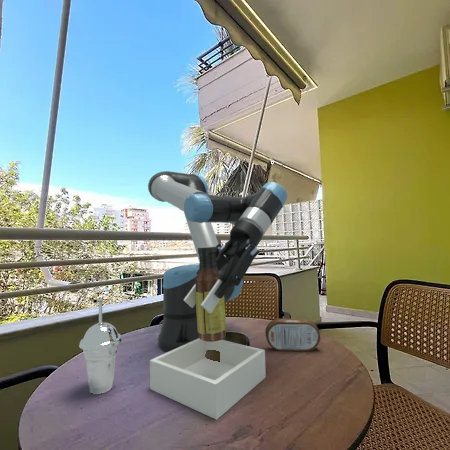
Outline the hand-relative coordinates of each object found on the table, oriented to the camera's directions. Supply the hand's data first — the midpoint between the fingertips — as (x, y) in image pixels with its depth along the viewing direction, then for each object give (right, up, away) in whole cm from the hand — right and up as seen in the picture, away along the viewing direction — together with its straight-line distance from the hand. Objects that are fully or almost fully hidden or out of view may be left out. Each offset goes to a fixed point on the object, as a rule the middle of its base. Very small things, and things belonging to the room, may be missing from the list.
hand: (196, 306), depth 59 cm
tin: (+25, -18, +19) cm, 36 cm away
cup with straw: (-21, -18, +1) cm, 28 cm away
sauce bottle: (+3, -8, +2) cm, 8 cm away
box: (+3, -17, +2) cm, 18 cm away
